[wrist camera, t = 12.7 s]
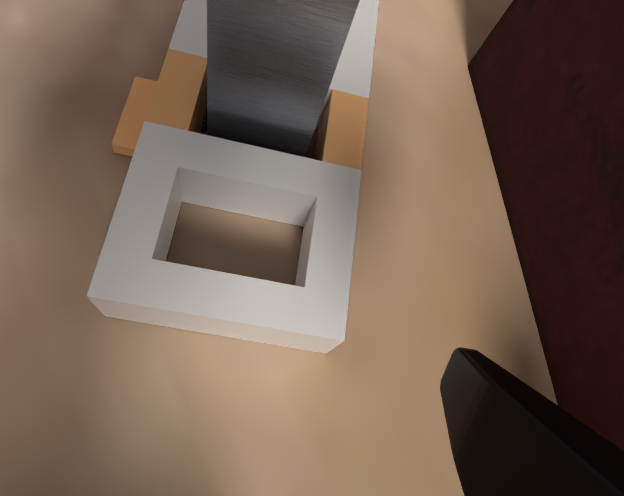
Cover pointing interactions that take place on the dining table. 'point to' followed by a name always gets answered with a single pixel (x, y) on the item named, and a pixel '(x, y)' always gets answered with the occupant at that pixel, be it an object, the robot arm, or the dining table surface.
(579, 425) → the robot arm
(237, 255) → the dining table surface
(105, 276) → the frame
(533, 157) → the storage box
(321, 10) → the graphite panel
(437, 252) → the dining table surface
